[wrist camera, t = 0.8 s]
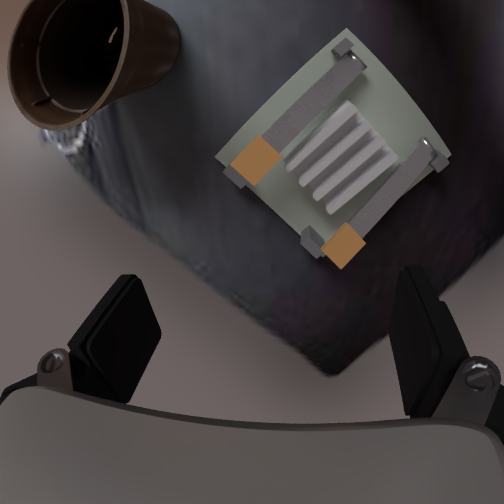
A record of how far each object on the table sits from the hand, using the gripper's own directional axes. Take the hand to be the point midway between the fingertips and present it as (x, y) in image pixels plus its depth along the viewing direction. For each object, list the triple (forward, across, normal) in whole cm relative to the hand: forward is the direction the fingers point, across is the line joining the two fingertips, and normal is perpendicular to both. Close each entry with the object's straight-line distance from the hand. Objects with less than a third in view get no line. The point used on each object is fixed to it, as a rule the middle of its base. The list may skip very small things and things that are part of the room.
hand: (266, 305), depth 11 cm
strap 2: (+25, -10, +5) cm, 28 cm away
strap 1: (+25, -2, -5) cm, 25 cm away
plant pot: (+30, +18, -16) cm, 39 cm away
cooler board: (+30, -5, +1) cm, 30 cm away
